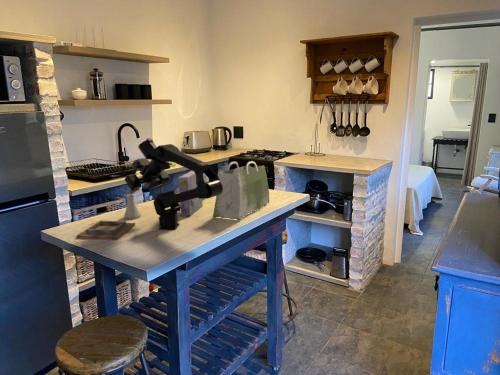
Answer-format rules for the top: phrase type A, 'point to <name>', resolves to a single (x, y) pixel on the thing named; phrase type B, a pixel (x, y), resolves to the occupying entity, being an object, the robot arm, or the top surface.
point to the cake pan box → (187, 184)
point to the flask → (131, 208)
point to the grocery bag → (241, 191)
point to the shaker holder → (106, 230)
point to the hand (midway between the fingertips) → (140, 191)
